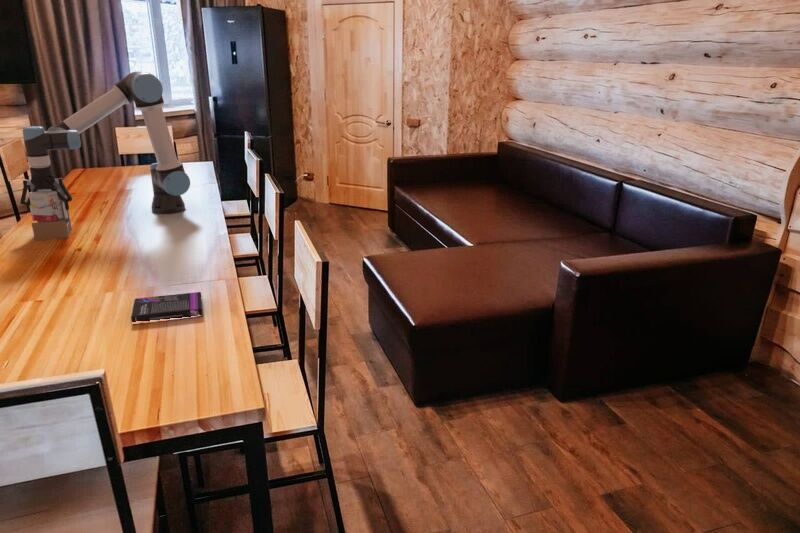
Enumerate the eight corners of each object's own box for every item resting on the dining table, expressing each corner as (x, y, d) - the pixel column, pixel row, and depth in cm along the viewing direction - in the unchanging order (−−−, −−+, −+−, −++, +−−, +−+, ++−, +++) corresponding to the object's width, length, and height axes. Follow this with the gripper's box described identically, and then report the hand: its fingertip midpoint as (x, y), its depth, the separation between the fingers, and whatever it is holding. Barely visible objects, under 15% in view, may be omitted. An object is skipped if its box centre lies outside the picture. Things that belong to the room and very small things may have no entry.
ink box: (52, 221, 235) (46, 193, 231) (33, 220, 236) (27, 192, 232) (66, 216, 243) (61, 188, 239) (47, 215, 244) (42, 187, 240)
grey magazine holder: (71, 228, 250) (62, 178, 242) (68, 237, 239) (58, 185, 231) (39, 231, 246) (29, 180, 238) (35, 240, 234) (23, 187, 227)
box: (202, 301, 185) (135, 307, 179) (201, 291, 183) (134, 297, 177) (202, 319, 172) (131, 326, 166) (201, 308, 171) (129, 315, 165)
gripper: (74, 163, 240) (82, 214, 247) (7, 165, 231) (19, 218, 239) (72, 166, 233) (81, 218, 241) (4, 169, 224) (15, 223, 232)
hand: (50, 218), depth 240 cm, fingers closed on ink box, 11 cm apart
